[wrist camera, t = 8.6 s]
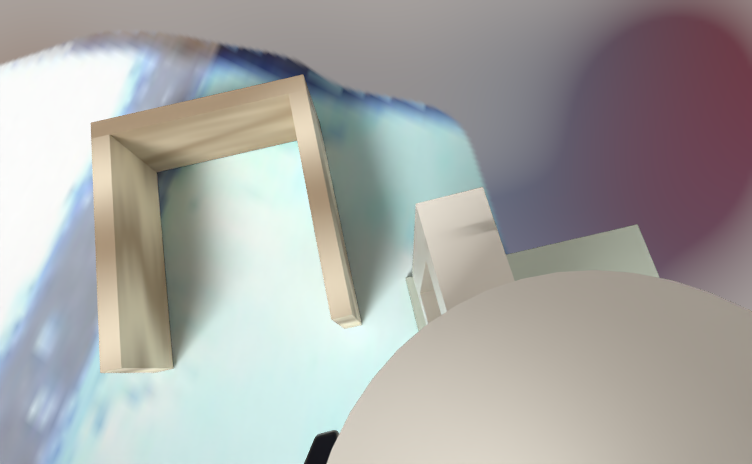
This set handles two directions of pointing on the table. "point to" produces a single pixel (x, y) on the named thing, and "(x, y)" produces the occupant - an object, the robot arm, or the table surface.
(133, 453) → the table surface
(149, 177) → the frame
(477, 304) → the rounded top cylinder
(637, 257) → the sage mat
